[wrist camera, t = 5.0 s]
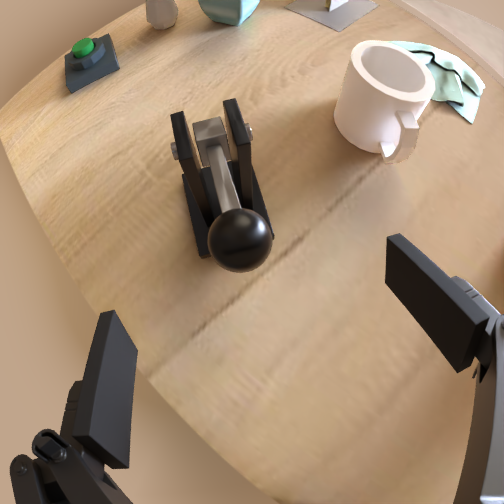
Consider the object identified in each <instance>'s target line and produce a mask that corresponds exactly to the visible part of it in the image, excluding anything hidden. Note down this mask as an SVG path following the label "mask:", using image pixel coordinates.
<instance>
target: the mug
mask: <svg viewBox="0 0 504 504" xmlns="http://www.w3.org/2000/svg"><path fill="white" fill-rule="evenodd" d="M434 91H435V80H434V78H433V76H432V73H431V71H430V70H429V69H428V68H427V66H426V65H425V64H424V63H423V62H422V61H421V60H420V59H419V58H418V57H416V56H415V55H414V54H412V53H411V52H409V51H407V50H406V49H404V48H402V47H400V46H397V45H395V44H392V43H389V42H384V41H378V40H374V41H365V42H362V43H359V44H357V45H356V46H355V47H354V48H353V50H352V53H351V56H350V60H349V63H348V67H347V70H346V73H345V77H344V80H343V84H342V87H341V90H340V93H339V97H338V100H337V103H336V107H335V111H334V120H335V124H336V126H337V128H338V130H339V131H340V133H341V134H342V135H343V136H344V137H345V138H346V139H347V140H348V141H349V142H350V143H352V144H353V145H355V146H357V147H358V148H360V149H363V150H365V151H368V152H371V153H381V154H382V157H383V160H384V162H385V164H393V163H400V162H402V161H404V160H406V159H408V158H409V156H410V155H411V153H412V152H413V150H414V149H415V147H416V143H417V138H418V133H419V129H420V128H419V126H418V124H417V122H416V121H417V119H418V118H419V116H420V115H421V113H422V111H423V110H424V108H425V107H426V105H427V104H428V102H429V101H430V99H431V97H432V96H433V94H434Z"/></svg>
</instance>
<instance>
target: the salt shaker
mask: <svg viewBox="0 0 504 504" xmlns="http://www.w3.org/2000/svg"><path fill="white" fill-rule="evenodd" d="M177 16H178V7H177V5H176V3H175V1H174V0H146V17H147V21H148V22H149V23H150V24H151V25H152V26H153V27H154V28H155V29H167V28H169V27H171V26H173V25H174V24H175V21H176V19H177Z"/></svg>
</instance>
